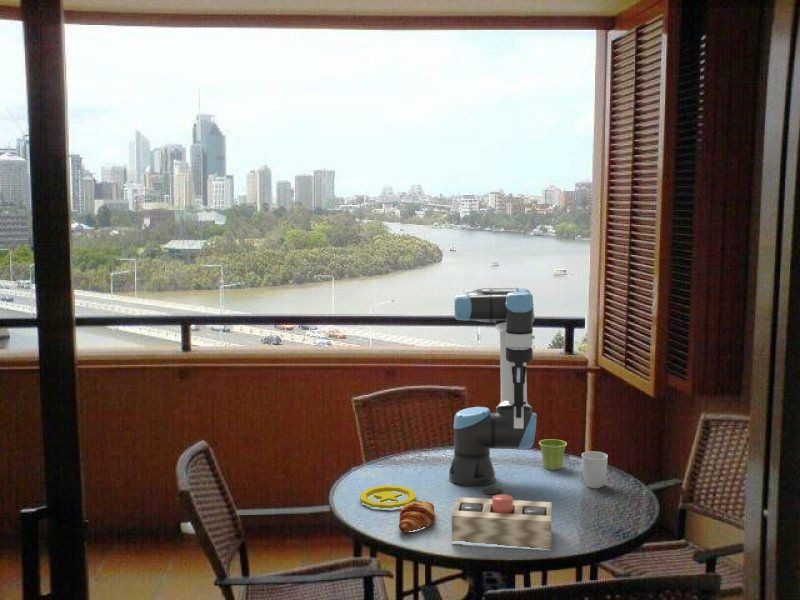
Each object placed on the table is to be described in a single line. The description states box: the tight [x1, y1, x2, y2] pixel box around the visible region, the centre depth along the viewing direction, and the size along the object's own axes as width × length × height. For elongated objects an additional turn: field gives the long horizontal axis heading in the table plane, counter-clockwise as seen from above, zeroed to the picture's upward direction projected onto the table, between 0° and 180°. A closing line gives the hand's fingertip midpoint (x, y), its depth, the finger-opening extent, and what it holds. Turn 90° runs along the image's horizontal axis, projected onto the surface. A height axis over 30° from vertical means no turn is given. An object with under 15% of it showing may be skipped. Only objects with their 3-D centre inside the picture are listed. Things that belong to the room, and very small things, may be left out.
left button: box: [461, 503, 481, 512], centre depth 224 cm, size 6×6×5 cm
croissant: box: [398, 500, 436, 533], centre depth 233 cm, size 21×10×8 cm, turn 157°
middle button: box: [491, 494, 514, 514], centre depth 222 cm, size 6×6×5 cm
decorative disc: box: [360, 485, 417, 508], centre depth 252 cm, size 17×18×2 cm
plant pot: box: [538, 438, 568, 471], centre depth 281 cm, size 9×9×9 cm
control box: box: [451, 496, 553, 551], centre depth 222 cm, size 26×14×8 cm, turn 79°
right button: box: [524, 507, 545, 516], centre depth 221 cm, size 6×6×5 cm
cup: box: [581, 451, 609, 489], centre depth 262 cm, size 8×8×10 cm
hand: (518, 427), depth 235 cm, fingers closed
